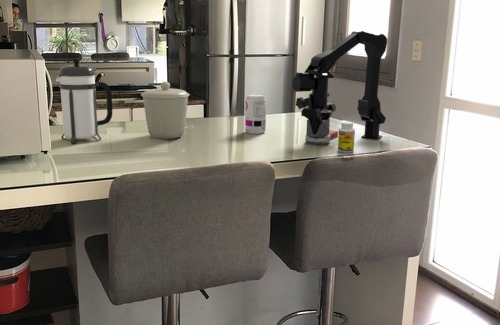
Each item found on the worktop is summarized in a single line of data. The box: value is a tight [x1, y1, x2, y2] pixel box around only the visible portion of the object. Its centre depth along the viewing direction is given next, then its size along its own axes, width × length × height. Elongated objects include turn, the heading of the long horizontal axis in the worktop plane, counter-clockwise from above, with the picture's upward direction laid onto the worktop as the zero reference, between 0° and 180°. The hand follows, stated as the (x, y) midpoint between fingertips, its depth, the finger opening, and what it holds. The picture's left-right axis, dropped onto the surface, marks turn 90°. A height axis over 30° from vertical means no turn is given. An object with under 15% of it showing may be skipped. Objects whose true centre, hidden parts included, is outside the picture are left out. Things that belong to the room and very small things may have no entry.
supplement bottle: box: [337, 121, 356, 154], centre depth 189 cm, size 6×6×10 cm
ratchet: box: [304, 129, 339, 146], centre depth 208 cm, size 20×9×6 cm, turn 150°
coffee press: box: [55, 57, 113, 145], centre depth 200 cm, size 17×16×30 cm
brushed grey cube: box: [305, 118, 331, 138], centre depth 203 cm, size 6×6×6 cm
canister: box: [140, 81, 191, 140], centre depth 208 cm, size 18×18×21 cm
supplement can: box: [244, 93, 267, 135], centre depth 220 cm, size 8×8×15 cm
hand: (318, 132), depth 203 cm, fingers closed on brushed grey cube, 6 cm apart
